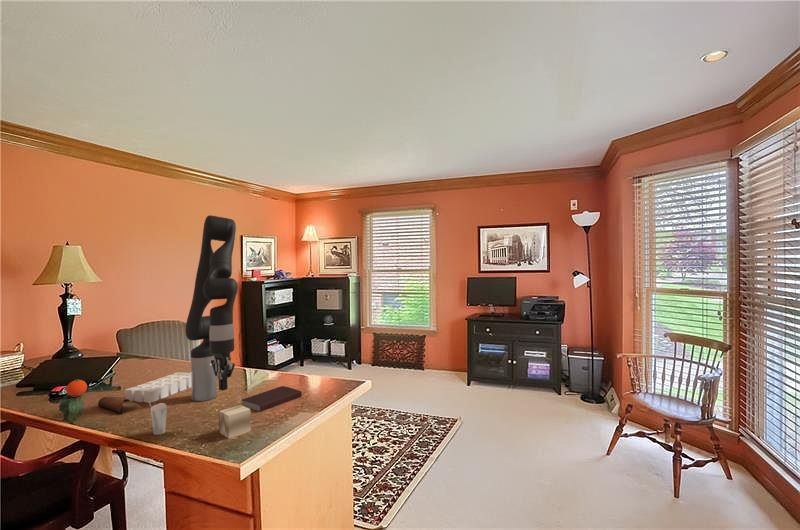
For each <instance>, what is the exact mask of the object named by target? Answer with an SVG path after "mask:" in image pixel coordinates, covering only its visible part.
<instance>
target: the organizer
mask: <svg viewBox="0 0 800 530" xmlns="http://www.w3.org/2000/svg"><path fill="white" fill-rule="evenodd" d="M190 388H191V371H190V372H182V371H181V372H180V371H179V372H175V373H173V374H168V375H166V376H164V377H159V378H157V379H155V380H151V381H148V382H146V383H141V384H139V385H136V386H133V387H132V386H131V387H129V388H126V389H124V398H126V399H129V401H132V402H135V403H136V402H139V403H142V402H143V403H148V402H149V403H150V404H151V403H154V402H156V401H159V400H160V399H164V398H166V397H169V396H172V395H174V394H176V393H177V394H178V392H182V391H185V390H187V389H190ZM149 403H148V404H149Z"/></svg>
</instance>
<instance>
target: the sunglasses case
mask: <svg viewBox="0 0 800 530" xmlns="http://www.w3.org/2000/svg"><path fill="white" fill-rule="evenodd" d="M97 406H98V407H100V408H106V409H108V410H111V411H113V412H116V413H118V414H121V415H124V414H128V413H130V412H133V411H134V412H135V411H136V410H139V409H143V406H142V405H140V404H138V403H136V402H135V401H129V399H126V398H125V397H118V396H104V397H101V398H100V399H99V401H98V402H97Z"/></svg>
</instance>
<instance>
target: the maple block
mask: <svg viewBox="0 0 800 530" xmlns="http://www.w3.org/2000/svg"><path fill="white" fill-rule="evenodd" d="M251 419H252V418H251V408H247V407H244V406H242V404H237V405H234V406H230V407H227V408H222V409H220V410H218V433H219V434H221V435H223V436H224V437H226V438H227V439H232V438H236V437H238V436H241V435H243V434H246V433H250V432H251V431H252V428H251V427H252V426H251V424H252V423H251Z"/></svg>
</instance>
